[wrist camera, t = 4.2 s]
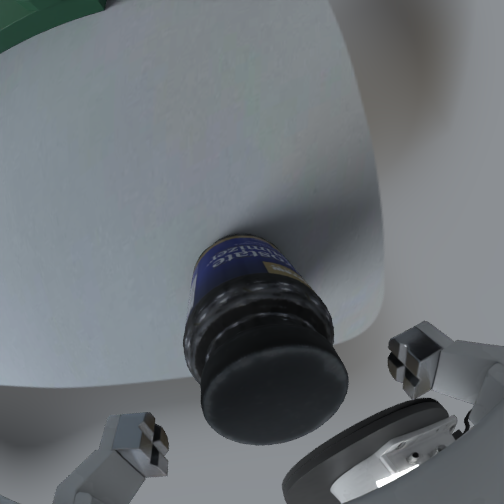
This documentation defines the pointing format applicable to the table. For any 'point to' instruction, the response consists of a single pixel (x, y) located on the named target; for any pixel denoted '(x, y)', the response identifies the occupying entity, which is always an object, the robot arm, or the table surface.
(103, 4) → the dispenser
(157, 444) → the robot arm
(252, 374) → the pill bottle
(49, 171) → the table surface
